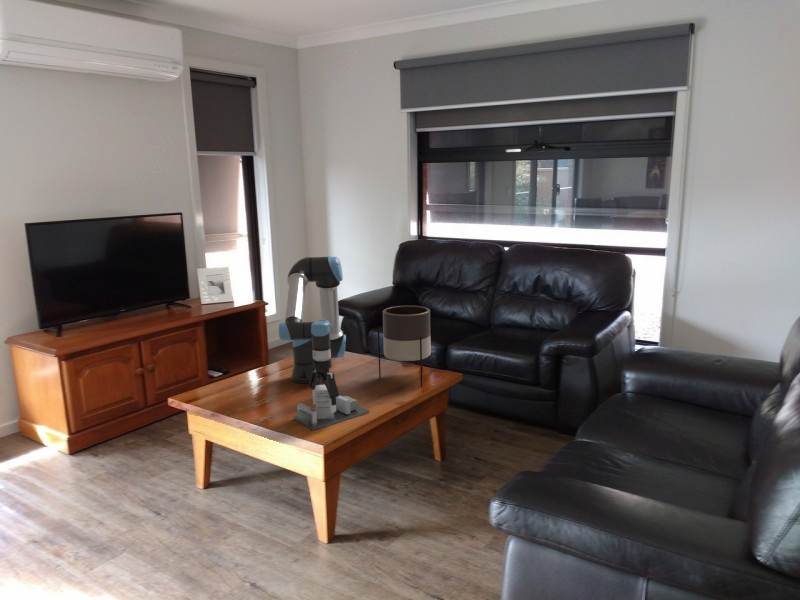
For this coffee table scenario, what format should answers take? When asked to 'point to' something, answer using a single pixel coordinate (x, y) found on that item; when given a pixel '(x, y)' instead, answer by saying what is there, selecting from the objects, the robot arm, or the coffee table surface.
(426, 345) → the planter
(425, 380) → the coffee table surface
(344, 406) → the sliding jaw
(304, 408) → the vise
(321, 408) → the supplement box
